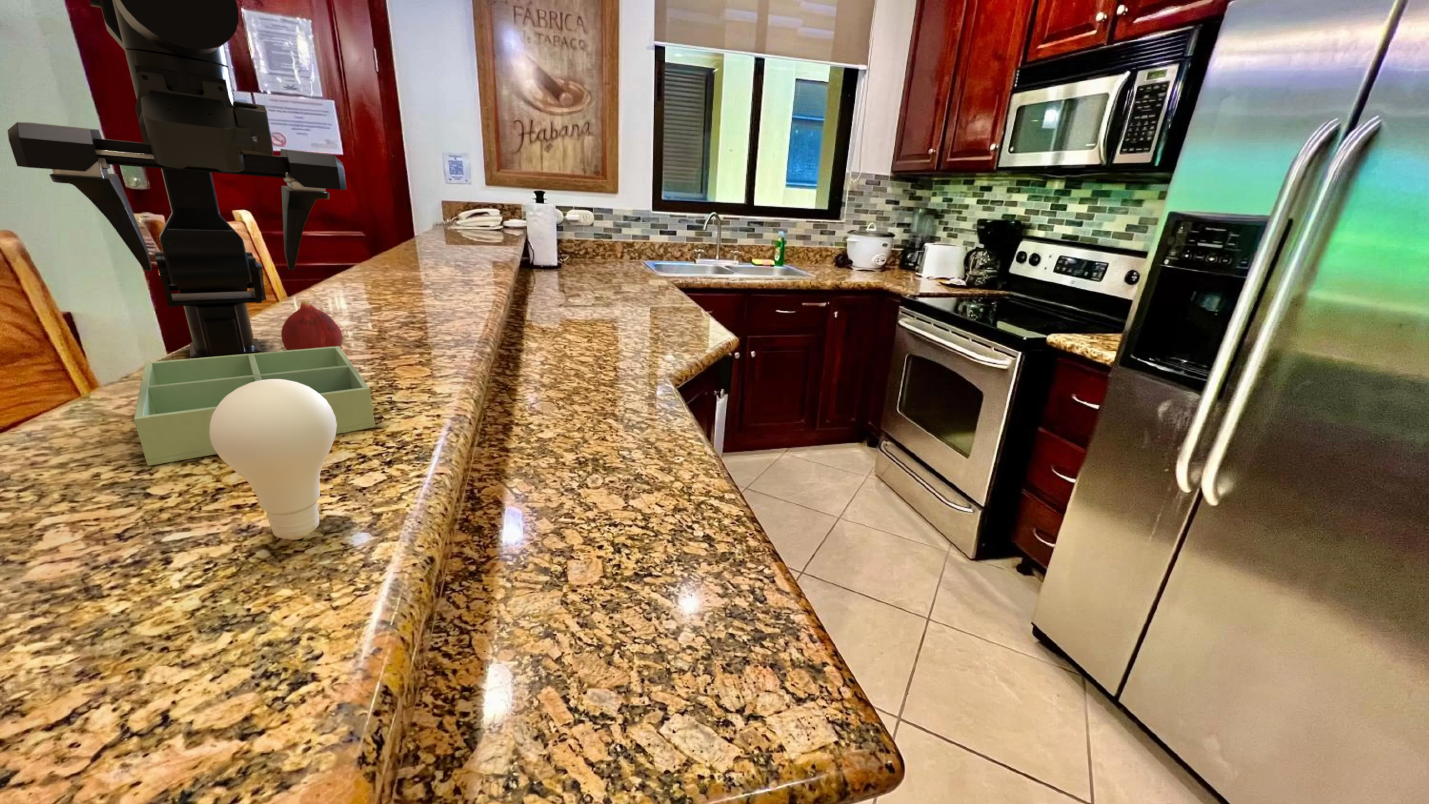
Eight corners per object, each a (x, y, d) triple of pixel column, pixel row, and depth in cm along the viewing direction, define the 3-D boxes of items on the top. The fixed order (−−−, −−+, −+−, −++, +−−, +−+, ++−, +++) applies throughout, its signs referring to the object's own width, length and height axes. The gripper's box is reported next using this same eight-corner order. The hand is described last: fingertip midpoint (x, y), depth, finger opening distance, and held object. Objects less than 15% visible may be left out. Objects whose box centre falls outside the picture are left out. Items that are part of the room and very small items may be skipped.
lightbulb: (223, 573, 33) (178, 403, 29) (255, 518, 38) (220, 367, 34) (344, 556, 35) (317, 396, 31) (359, 506, 40) (337, 364, 37)
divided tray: (156, 401, 53) (145, 362, 52) (344, 379, 63) (339, 345, 62) (147, 466, 43) (133, 419, 41) (375, 427, 53) (370, 388, 51)
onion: (357, 362, 69) (348, 299, 66) (321, 376, 64) (310, 307, 61) (313, 356, 69) (302, 293, 66) (274, 370, 64) (261, 301, 61)
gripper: (-59, 7, 30) (38, 293, 36) (345, 80, 42) (370, 285, 47) (-8, 31, 37) (66, 263, 43) (322, 87, 49) (346, 263, 55)
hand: (224, 269), depth 47 cm, fingers open, 9 cm apart
